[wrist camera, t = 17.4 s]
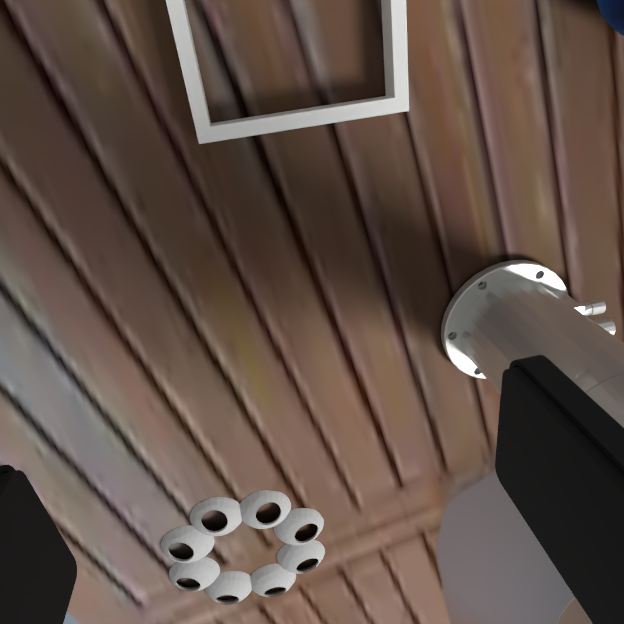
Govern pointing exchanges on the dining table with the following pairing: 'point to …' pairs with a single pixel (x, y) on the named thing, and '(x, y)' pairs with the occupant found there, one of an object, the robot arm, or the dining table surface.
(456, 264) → the dining table surface
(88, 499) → the dining table surface
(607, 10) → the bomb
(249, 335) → the dining table surface
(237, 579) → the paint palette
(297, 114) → the white square frame
